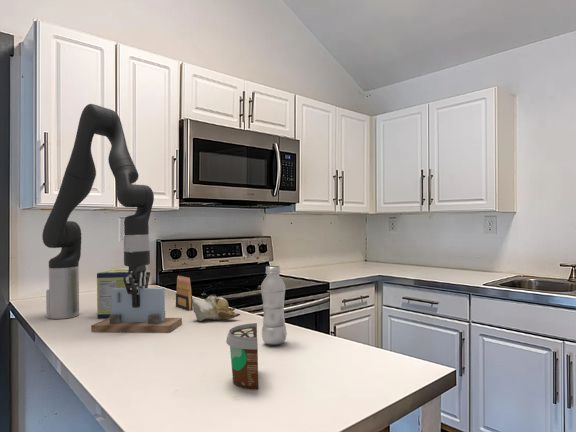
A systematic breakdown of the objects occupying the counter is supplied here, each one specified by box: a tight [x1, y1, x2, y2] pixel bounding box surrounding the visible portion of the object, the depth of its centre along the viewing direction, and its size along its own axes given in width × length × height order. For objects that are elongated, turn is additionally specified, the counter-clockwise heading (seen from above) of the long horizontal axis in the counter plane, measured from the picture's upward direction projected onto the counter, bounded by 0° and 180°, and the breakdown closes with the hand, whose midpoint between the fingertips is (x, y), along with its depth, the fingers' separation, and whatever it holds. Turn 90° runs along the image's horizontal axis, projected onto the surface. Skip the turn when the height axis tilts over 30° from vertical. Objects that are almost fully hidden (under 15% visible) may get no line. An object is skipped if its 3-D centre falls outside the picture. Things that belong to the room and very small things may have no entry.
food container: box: [226, 322, 259, 390], centre depth 83 cm, size 12×6×10 cm, turn 5°
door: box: [111, 287, 166, 322], centre depth 127 cm, size 16×3×10 cm, turn 84°
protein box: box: [96, 267, 129, 320], centre depth 148 cm, size 10×16×16 cm
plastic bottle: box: [260, 265, 288, 346], centre depth 107 cm, size 6×7×20 cm
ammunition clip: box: [175, 275, 194, 312], centre depth 155 cm, size 11×2×12 cm, turn 39°
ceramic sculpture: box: [192, 293, 241, 322], centre depth 136 cm, size 11×9×15 cm
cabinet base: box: [90, 314, 183, 334], centre depth 127 cm, size 24×10×4 cm, turn 84°
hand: (138, 306), depth 127 cm, fingers closed on door, 2 cm apart
